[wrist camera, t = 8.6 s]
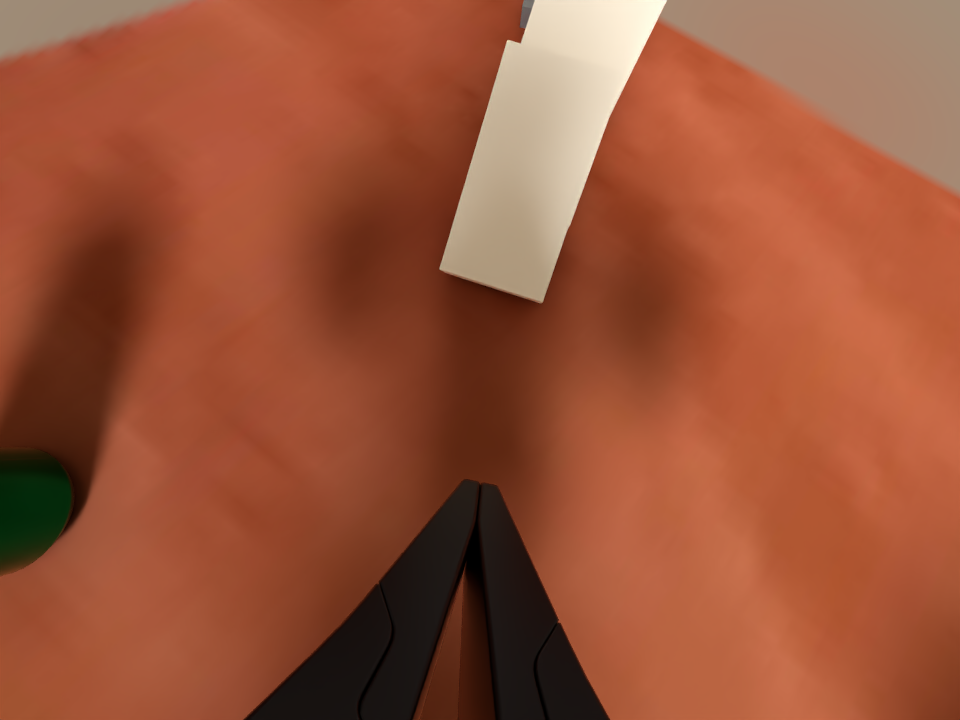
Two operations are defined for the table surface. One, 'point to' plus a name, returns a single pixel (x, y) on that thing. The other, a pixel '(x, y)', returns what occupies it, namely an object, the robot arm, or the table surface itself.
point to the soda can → (31, 505)
